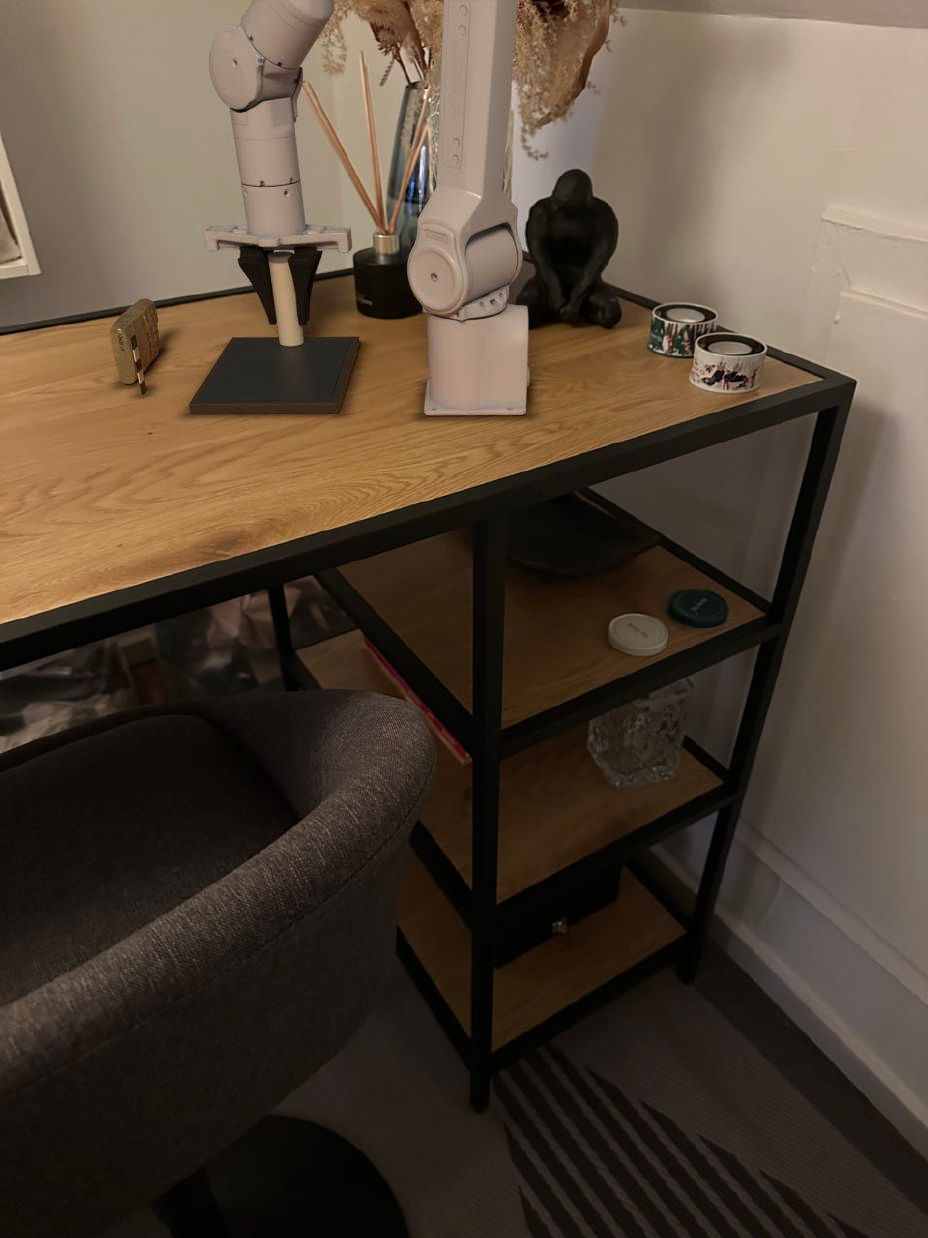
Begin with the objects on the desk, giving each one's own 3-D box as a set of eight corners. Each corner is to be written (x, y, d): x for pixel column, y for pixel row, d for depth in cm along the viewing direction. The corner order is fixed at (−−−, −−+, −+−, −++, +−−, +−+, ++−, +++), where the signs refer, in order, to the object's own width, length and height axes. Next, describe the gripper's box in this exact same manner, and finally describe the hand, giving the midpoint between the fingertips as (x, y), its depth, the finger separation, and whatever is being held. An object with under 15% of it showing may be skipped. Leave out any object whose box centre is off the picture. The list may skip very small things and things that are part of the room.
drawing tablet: (359, 345, 96) (359, 335, 95) (339, 413, 81) (337, 402, 81) (233, 345, 96) (231, 336, 95) (190, 414, 82) (188, 403, 81)
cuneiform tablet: (131, 337, 82) (168, 297, 92) (91, 335, 82) (132, 296, 92) (143, 395, 86) (177, 351, 95) (104, 394, 86) (143, 350, 95)
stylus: (306, 338, 94) (296, 250, 89) (300, 346, 92) (290, 257, 87) (283, 338, 95) (271, 250, 89) (277, 346, 92) (264, 257, 87)
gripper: (183, 189, 81) (210, 333, 90) (336, 190, 80) (349, 336, 88) (208, 174, 87) (231, 311, 95) (350, 174, 86) (362, 313, 94)
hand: (289, 321), depth 92 cm, fingers closed on stylus, 2 cm apart
